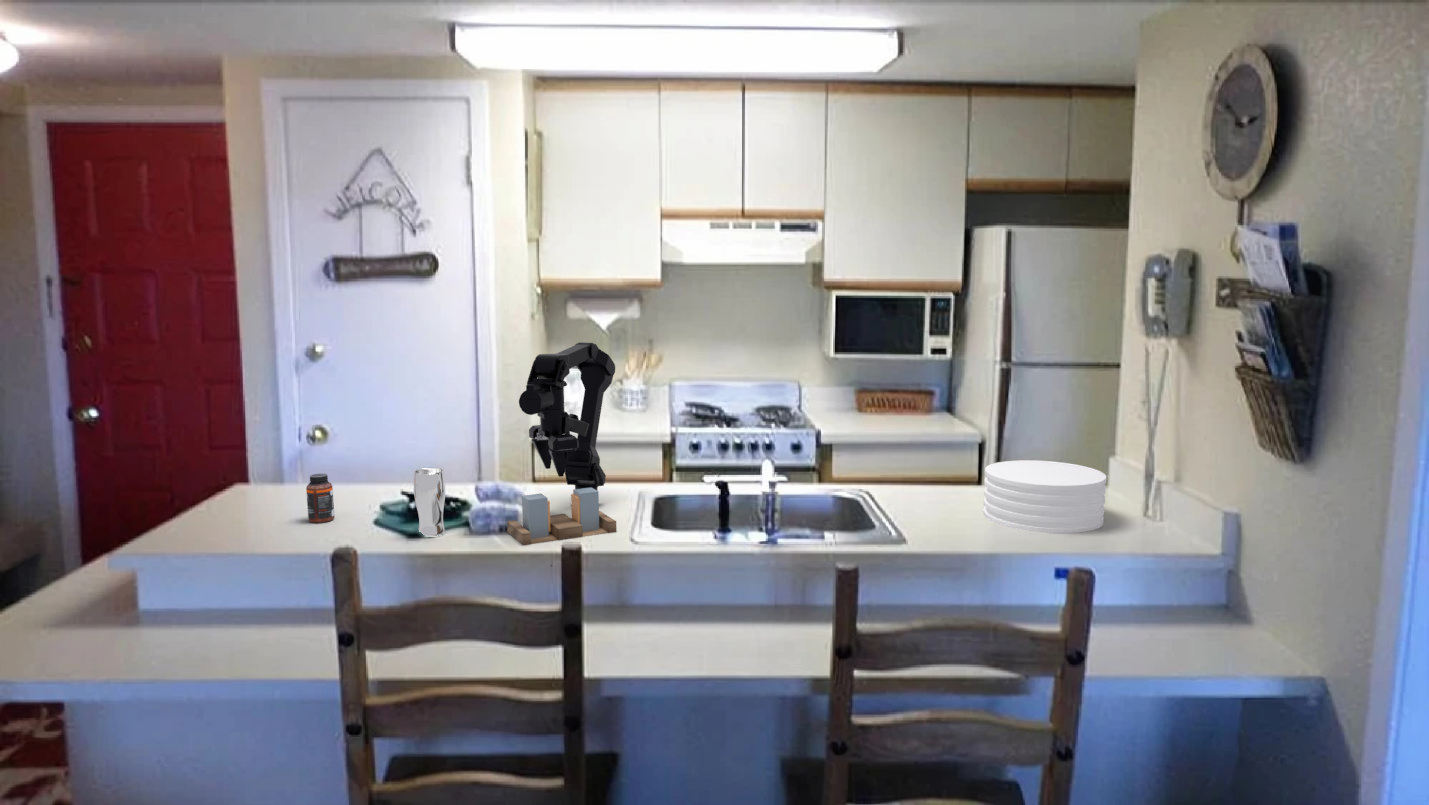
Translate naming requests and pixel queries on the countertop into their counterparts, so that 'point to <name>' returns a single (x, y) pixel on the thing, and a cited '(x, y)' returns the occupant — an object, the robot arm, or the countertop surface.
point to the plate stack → (1044, 496)
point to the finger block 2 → (586, 508)
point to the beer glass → (430, 500)
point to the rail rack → (561, 529)
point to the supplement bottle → (320, 499)
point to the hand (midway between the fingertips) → (554, 472)
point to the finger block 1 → (536, 515)
